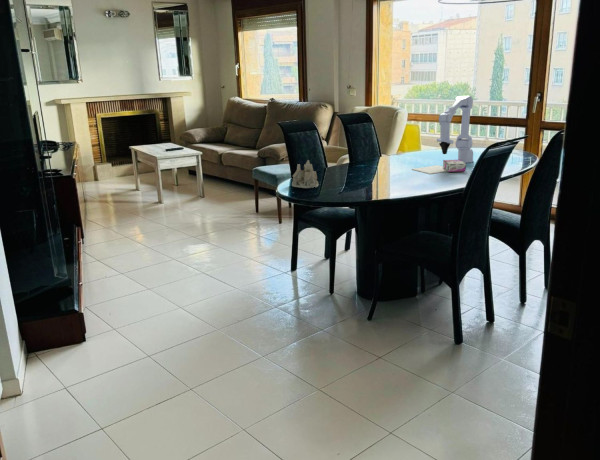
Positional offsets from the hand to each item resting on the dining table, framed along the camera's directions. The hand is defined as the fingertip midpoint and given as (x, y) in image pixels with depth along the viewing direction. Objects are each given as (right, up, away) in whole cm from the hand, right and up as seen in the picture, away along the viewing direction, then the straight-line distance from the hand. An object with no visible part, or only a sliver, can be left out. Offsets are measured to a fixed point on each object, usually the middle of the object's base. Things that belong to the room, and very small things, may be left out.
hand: (444, 153), depth 351 cm
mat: (-7, -10, 0) cm, 13 cm away
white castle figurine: (-90, -23, -23) cm, 96 cm away
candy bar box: (+5, -6, +2) cm, 8 cm away
